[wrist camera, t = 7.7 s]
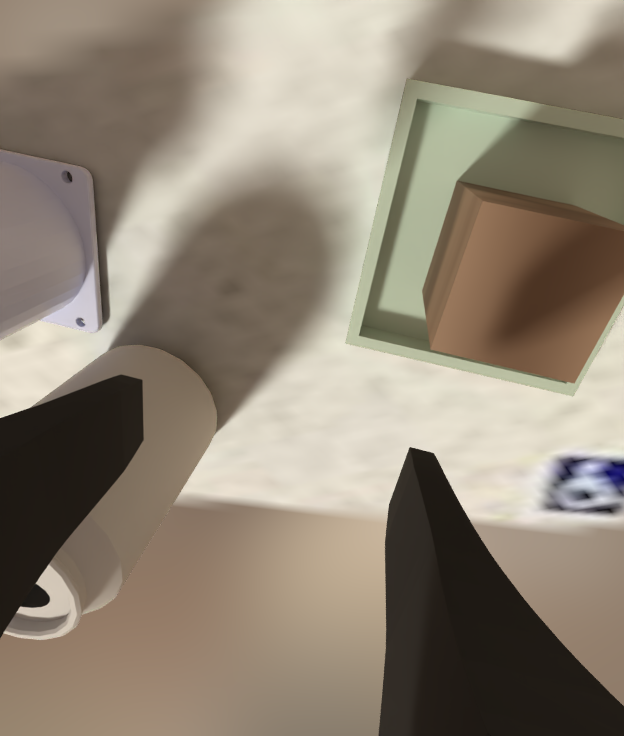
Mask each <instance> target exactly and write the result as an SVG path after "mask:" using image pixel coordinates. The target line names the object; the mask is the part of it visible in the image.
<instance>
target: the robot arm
mask: <svg viewBox="0 0 624 736" xmlns="http://www.w3.org/2000/svg"><path fill="white" fill-rule="evenodd" d="M67 172H70V174H71V175H72V182H71V181H70V180H69V179H68V177H67ZM80 318H82V319H83V320H84V321H85V324H84V323H83V322H82V321H81V319H80ZM39 320H40V321H44V322H48V323H52V324H56V325H60V326H65V327H69V328H73V329H77V330H81V331H85V332H90V333H95V332H98V331H99V330H101V328H102V325H103V322H102V307H101V292H100V278H99V263H98V248H97V233H96V219H95V204H94V189H93V179H92V176H91V174H90V172H89V171H88V170H87V169H86V168H84V167H81V166H77V165H72V164H67V163H63V162H58V161H53V160H49V159H44V158H39V157H35V156H30V155H25V154H20V153H16V152H11V151H6V150H2V149H0V340H2V339H4V338H6V337H8V336H10V335H12V334H14V333H16V332H18V331H20V330H21V329H23V328H25V327H27V326H29V325H31V324H33V323H35V322H37V321H39ZM143 440H144V427H143V380H142V379H138V378H134V377H130V376H126V375H122V374H121V375H117V376H114V377H111V378H108V379H106V380H103V381H100V382H97V383H95V384H92V385H90V386H87V387H85V388H82V389H79V390H77V391H74V392H72V393H69V394H66V395H64V396H61V397H59V398H56V399H53V400H51V401H48V402H46V403H43V404H40V405H37V406H34V407H32V408H29V409H26V410H23V411H20V412H17V413H14V414H11V415H8V416H5V417H3V418H0V638H1V636H2V634H3V633H4V631H5V630H6V628H7V626H8V625H9V623H10V622H11V620H12V619H13V617H14V616H15V614H16V613H17V611H18V610H19V608H20V606H21V605H22V603H23V602H24V600H25V599H26V597H27V596H28V594H29V593H30V591H31V590H32V588H33V587H34V585H35V584H36V582H37V581H38V579H39V578H40V576H41V575H42V574H43V572H44V571H45V569H46V568H47V566H48V565H49V563H50V562H51V560H52V559H53V558H54V556H55V555H56V553H57V552H58V551H59V549H60V548H61V547H62V546H63V544H64V543H65V542H66V540H67V539H68V538H69V537H70V535H71V534H72V533H73V532H74V531H75V530H76V528H77V527H78V526H79V525H80V524H81V522H82V521H83V520H84V519H85V518H86V516H87V515H88V514H89V513H90V512H91V511H92V509H93V508H94V507H95V506H96V505H97V503H98V502H99V501H100V500H101V499H102V497H103V496H104V495H105V494H106V493H107V492H108V490H109V489H110V488H111V487H112V485H113V484H114V483H115V482H116V481H117V479H118V478H119V477H120V476H121V474H122V473H123V472H124V471H125V469H126V468H127V466H128V465H129V463H130V462H131V460H132V458H133V457H134V455H135V454H136V452H137V450H138V449H139V447H140V445H141V444H142V442H143ZM385 573H386V654H385V667H384V680H383V692H382V704H381V715H380V727H379V736H624V706H623V705H622V704H621V703H620V702H619V701H618V700H617V699H616V698H615V697H614V696H613V695H611V694H610V693H609V691H607V689H606V688H605V687H604V686H603V685H602V684H600V682H599V681H598V680H597V679H596V678H595V677H594V676H593V675H592V674H591V673H590V672H589V671H588V670H587V669H586V668H585V667H584V666H583V665H582V664H581V663H580V662H579V661H578V660H577V659H576V658H575V657H574V656H573V655H572V653H571V652H570V651H569V650H568V649H567V648H566V647H565V646H564V645H563V644H562V643H561V642H560V641H559V639H558V638H557V637H556V636H555V635H554V634H553V633H552V631H551V630H550V629H549V628H548V627H547V626H546V625H545V623H544V622H543V621H542V620H541V619H540V618H539V616H538V615H537V614H536V613H535V612H534V611H533V609H532V608H531V607H530V606H529V605H528V603H527V602H526V601H525V600H524V598H523V597H522V596H521V595H520V593H519V592H518V591H517V589H516V588H515V587H514V585H513V584H512V583H511V581H510V580H509V579H508V578H507V576H506V575H505V574H504V572H503V571H502V569H501V568H500V567H499V565H498V564H497V562H496V561H495V560H494V558H493V557H492V555H491V554H490V552H489V551H488V549H487V548H486V546H485V544H484V543H483V542H482V540H481V538H480V537H479V535H478V533H477V532H476V530H475V529H474V527H473V525H472V524H471V522H470V520H469V518H468V517H467V515H466V513H465V511H464V510H463V508H462V506H461V504H460V503H459V501H458V499H457V497H456V495H455V493H454V491H453V489H452V488H451V486H450V484H449V482H448V480H447V478H446V476H445V474H444V472H443V470H442V468H441V466H440V464H439V462H438V460H437V458H436V456H435V455H434V453H431V452H427V451H423V450H419V449H415V448H411V447H410V448H409V451H408V453H407V456H406V459H405V462H404V465H403V467H402V470H401V473H400V476H399V479H398V481H397V484H396V487H395V490H394V492H393V495H392V498H391V501H390V504H389V510H388V519H387V528H386V539H385Z"/></svg>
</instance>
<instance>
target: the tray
mask: <svg viewBox="0 0 624 736" xmlns="http://www.w3.org/2000/svg"><path fill="white" fill-rule="evenodd" d="M457 181H462V182H467V183H471V184H476V185H481V186H485V187H490V188H495V189H500V190H504V191H509V192H514V193H518V194H523V195H528V196H533V197H537V198H542V199H547V200H551V201H556V202H561V203H566V204H570V205H575V206H578V207H580V208H583V209H585V210H587V211H590V212H592V213H595V214H597V215H600V216H602V217H605V218H607V219H610V220H612V221H615V222H617V223H620V224H622V225H624V119H621V118H615V117H610V116H605V115H599V114H594V113H589V112H583V111H578V110H573V109H567V108H562V107H557V106H551V105H546V104H541V103H535V102H530V101H525V100H519V99H514V98H509V97H503V96H498V95H493V94H487V93H482V92H477V91H471V90H466V89H461V88H455V87H450V86H445V85H439V84H434V83H429V82H423V81H418V80H413V79H407V80H406V84H405V88H404V93H403V97H402V101H401V105H400V110H399V114H398V118H397V123H396V127H395V131H394V136H393V140H392V144H391V148H390V153H389V157H388V161H387V166H386V170H385V174H384V179H383V183H382V187H381V192H380V196H379V200H378V204H377V209H376V213H375V217H374V222H373V226H372V230H371V235H370V239H369V243H368V248H367V252H366V256H365V260H364V265H363V269H362V273H361V278H360V282H359V286H358V291H357V295H356V299H355V304H354V308H353V312H352V316H351V321H350V325H349V329H348V334H347V338H346V342H345V343H346V344H350V345H354V346H359V347H363V348H367V349H372V350H376V351H380V352H384V353H389V354H393V355H397V356H402V357H406V358H410V359H415V360H419V361H423V362H427V363H432V364H436V365H440V366H445V367H449V368H453V369H458V370H462V371H466V372H471V373H475V374H479V375H483V376H488V377H492V378H496V379H501V380H505V381H509V382H514V383H518V384H522V385H526V386H531V387H535V388H539V389H544V390H548V391H552V392H557V393H561V394H565V395H569V396H574V394H575V392H576V391H577V389H578V387H579V385H580V383H581V381H582V380H583V378H584V376H585V374H586V372H587V371H588V369H589V367H590V365H591V363H592V362H593V360H594V358H595V356H596V354H597V352H598V351H599V349H600V347H601V345H602V343H603V342H604V340H605V338H606V336H607V334H608V333H609V331H610V329H611V327H612V325H613V323H614V322H615V320H616V318H617V316H618V314H619V313H620V311H621V309H622V307H623V305H624V295H623V297H622V299H621V301H620V303H619V304H618V306H617V308H616V310H615V312H614V313H613V315H612V317H611V319H610V321H609V322H608V324H607V326H606V328H605V330H604V331H603V333H602V335H601V337H600V339H599V340H598V342H597V344H596V346H595V348H594V349H593V351H592V353H591V355H590V357H589V358H588V360H587V362H586V364H585V366H584V367H583V369H582V371H581V373H580V375H579V376H578V378H577V380H576V382H575V384H574V383H570V382H565V381H561V380H557V379H553V378H549V377H544V376H540V375H536V374H532V373H528V372H523V371H519V370H515V369H511V368H507V367H502V366H498V365H494V364H490V363H486V362H481V361H477V360H473V359H469V358H465V357H460V356H456V355H452V354H448V353H444V352H439V351H435V350H431V349H430V343H429V336H428V329H427V322H426V315H425V308H424V302H423V295H422V289H423V286H424V283H425V279H426V276H427V273H428V270H429V267H430V264H431V261H432V257H433V254H434V251H435V248H436V245H437V242H438V238H439V235H440V232H441V229H442V226H443V223H444V220H445V216H446V213H447V210H448V207H449V204H450V201H451V197H452V194H453V191H454V188H455V185H456V182H457Z"/></svg>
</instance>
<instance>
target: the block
mask: <svg viewBox="0 0 624 736" xmlns="http://www.w3.org/2000/svg"><path fill="white" fill-rule="evenodd" d="M422 295H423V302H424V308H425V315H426V322H427V329H428V336H429V343H430V349H431V350H435V351H439V352H444V353H448V354H452V355H456V356H460V357H465V358H469V359H473V360H477V361H481V362H486V363H490V364H494V365H498V366H502V367H507V368H511V369H515V370H519V371H523V372H528V373H532V374H536V375H540V376H544V377H549V378H553V379H557V380H561V381H565V382H570V383H574V384H575V382H576V380H577V378H578V376H579V375H580V373H581V371H582V369H583V367H584V366H585V364H586V362H587V360H588V358H589V357H590V355H591V353H592V351H593V349H594V348H595V346H596V344H597V342H598V340H599V339H600V337H601V335H602V333H603V331H604V330H605V328H606V326H607V324H608V322H609V321H610V319H611V317H612V315H613V313H614V312H615V310H616V308H617V306H618V304H619V303H620V301H621V299H622V297H623V295H624V225H622V224H620V223H617V222H615V221H612V220H610V219H607V218H605V217H602V216H600V215H597V214H595V213H592V212H590V211H587V210H585V209H583V208H580V207H578V206H575V205H570V204H566V203H561V202H556V201H551V200H547V199H542V198H537V197H533V196H528V195H523V194H518V193H514V192H509V191H504V190H500V189H495V188H490V187H485V186H481V185H476V184H471V183H467V182H462V181H457V182H456V185H455V188H454V191H453V194H452V197H451V201H450V204H449V207H448V210H447V213H446V216H445V220H444V223H443V226H442V229H441V232H440V235H439V238H438V242H437V245H436V248H435V251H434V254H433V257H432V261H431V264H430V267H429V270H428V273H427V276H426V279H425V283H424V286H423V289H422Z"/></svg>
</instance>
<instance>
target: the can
mask: <svg viewBox="0 0 624 736" xmlns="http://www.w3.org/2000/svg"><path fill="white" fill-rule="evenodd" d="M121 374H122V375H126V376H130V377H134V378H138V379H142V380H143V427H144V440H143V442H142V444H141V445H140V447H139V449H138V450H137V452H136V454H135V455H134V457H133V458H132V460H131V462H130V463H129V465H128V466H127V468H126V469H125V471H124V472H123V473H122V474H121V476H120V477H119V478H118V479H117V481H116V482H115V483H114V484H113V485H112V487H111V488H110V489H109V490H108V492H107V493H106V494H105V495H104V496H103V497H102V499H101V500H100V501H99V502H98V503H97V505H96V506H95V507H94V508H93V509H92V511H91V512H90V513H89V514H88V515H87V516H86V518H85V519H84V520H83V521H82V522H81V524H80V525H79V526H78V527H77V528H76V530H75V531H74V532H73V533H72V534H71V535H70V537H69V538H68V539H67V540H66V542H65V543H64V544H63V546H62V547H61V548H60V549H59V551H58V552H57V553H56V555H55V556H54V558H53V559H52V560H51V562H50V563H49V565H48V566H47V568H46V569H45V571H44V572H43V574H42V575H41V576H40V578H39V579H38V581H37V582H36V584H35V585H34V587H33V588H32V590H31V591H30V593H29V594H28V596H27V597H26V599H25V600H24V602H23V603H22V605H21V606H20V608H19V610H18V611H17V613H16V614H15V616H14V617H13V619H12V620H11V622H10V623H9V625H8V626H7V628H6V630H5V631H4V634H8V635H12V636H15V637H19V638H26V639H38V640H44V639H50V638H55V637H60V636H64V635H65V634H67V633H68V632H70V631H71V630H73V629H74V628H75V627H77V625H78V623H79V621H80V618H81V616H82V614H85V613H88V612H91V611H94V610H97V609H100V608H102V607H103V606H104V605H106V604H108V603H109V602H110V601H112V600H113V599H115V598H116V596H117V595H118V593H119V591H120V590H121V588H122V586H123V585H124V583H125V582H126V580H127V578H128V577H129V575H130V573H131V572H132V570H133V568H134V567H135V565H136V564H137V562H138V560H139V559H140V557H141V555H142V554H143V552H144V550H145V549H146V547H147V546H148V544H149V542H150V541H151V539H152V537H153V536H154V534H155V533H156V531H157V529H158V528H159V526H160V524H161V523H162V521H163V519H164V518H165V516H166V515H167V513H168V511H169V509H170V508H171V506H172V505H173V503H174V502H175V500H176V498H177V497H178V495H179V493H180V492H181V490H182V489H183V487H184V485H185V484H186V482H187V480H188V479H189V477H190V475H191V474H192V472H193V471H194V469H195V467H196V466H197V464H198V462H199V461H200V459H201V458H202V456H203V454H204V453H205V451H206V449H207V448H208V446H209V444H210V442H211V440H212V438H213V436H214V434H215V432H216V428H217V410H216V407H215V404H214V400H213V397H212V394H211V392H210V391H209V389H208V388H207V386H206V385H205V383H204V382H203V380H202V379H201V377H200V376H199V375H198V374H197V373H196V372H195V371H194V370H192V369H191V368H190V367H189V366H188V365H187V364H186V363H185V362H183V361H182V360H181V359H179V358H177V357H175V356H173V355H171V354H169V353H167V352H165V351H163V350H161V349H158V348H153V347H149V346H144V345H139V344H138V345H127V346H118V347H116V348H114V349H112V350H110V351H108V352H106V353H104V354H102V355H101V356H100V357H98V358H97V359H95V360H94V361H93V362H91V363H90V364H89V365H87V366H86V367H85V368H83V369H82V370H81V371H79V372H78V373H77V374H75V375H74V376H73V377H71V378H70V379H68V380H67V381H66V382H64V383H63V384H62V385H60V386H59V387H58V388H56V389H55V390H54V391H52V392H51V393H50V394H48V395H47V396H46V397H44V398H43V399H41V400H40V401H39V402H37V403H36V404H35V405H33V406H32V407H34V406H37V405H40V404H43V403H46V402H48V401H51V400H53V399H56V398H59V397H61V396H64V395H66V394H69V393H72V392H74V391H77V390H79V389H82V388H85V387H87V386H90V385H92V384H95V383H97V382H100V381H103V380H106V379H108V378H111V377H114V376H117V375H121ZM32 407H31V408H32Z"/></svg>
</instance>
